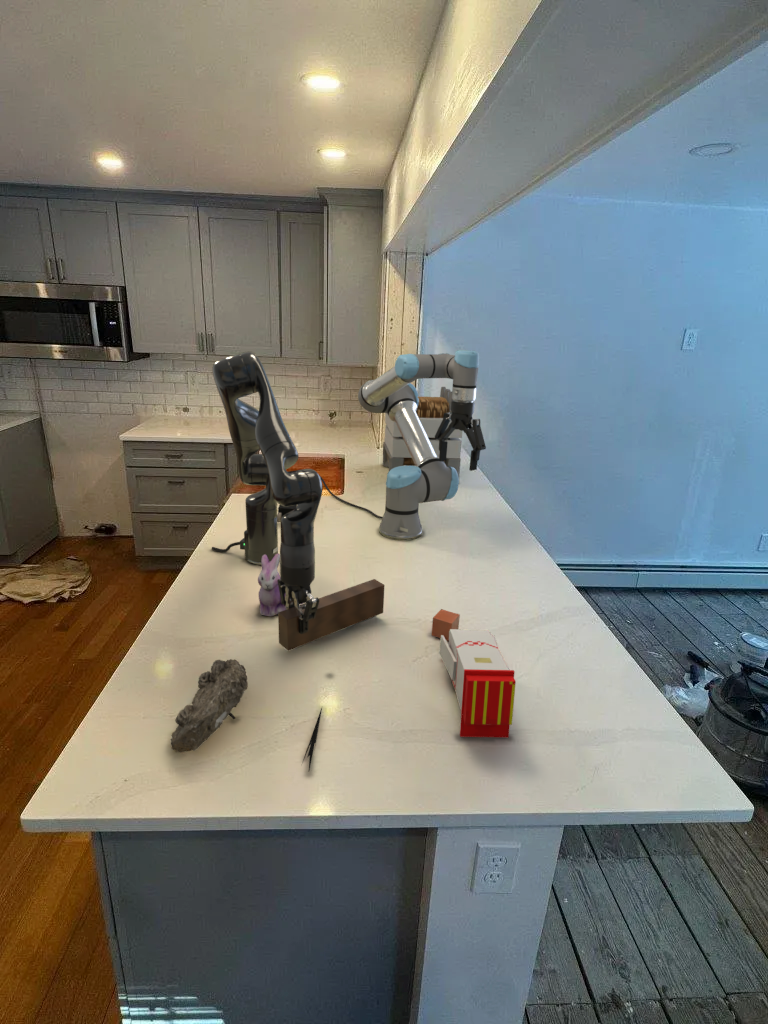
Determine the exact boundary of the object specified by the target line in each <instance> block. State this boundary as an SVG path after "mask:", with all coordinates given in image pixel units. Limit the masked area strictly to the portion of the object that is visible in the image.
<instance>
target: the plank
mask: <svg viewBox="0 0 768 1024" xmlns="http://www.w3.org/2000/svg"><path fill="white" fill-rule="evenodd" d="M318 598H319V605H318V608H317V612H316V616H315V618H313V619H310V620H309V625H308V626H309V630H308V632H306V633H304V634H300V633H299V620H298V619H299V617H298V611H297V610H296V609H295V607H292V608H290V609H287V610H284V611H281V612H278V614H277V616H278V617H277V621H278V644H279V645H280V646H282V647H283V648H284V649H285V650H286V651H288V652H289V651H292V650H295V649H296V648H299V647H302V646H304V645H307V644H309V643H312V642H315V641H317V640H319V639H322V638H324V637H326V636H329V635H332V634H334V633H336V632H339V631H342V630H344V629H347V628H349V627H352V626H354V625H356V624H359V623H362V622H364V621H366V620H369V619H372V618H374V617H376V616H379V615H381V614H383V613H384V605H385V604H384V602H385V584H383V582H381V581H379V580H377V579H375V578H373V579H370V580H368V581H364V582H362V583H359V584H356V585H353V586H350V587H347V588H345V589H341V590H339V591H336V592H333V593H330V594H327V595H324V596H322V597H318ZM305 603H306V602H305ZM305 603H303V604H305ZM303 604H300V605H303ZM304 611H305V609H303V610H302V613H303V614H304Z"/></svg>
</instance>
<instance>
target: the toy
mask: <svg viewBox="0 0 768 1024" xmlns="http://www.w3.org/2000/svg"><path fill="white" fill-rule="evenodd" d="M438 654H439V656H440V658H441V660H442V662H443V665H444V666H445V668H446V671H447V673H448V675H449V677H450V681H451V683H452V685H453V689H454V690H455V695H456V698H457V702H458V705H459V708H460V726H459V737H460V738H509V737H510V728H511V727H510V726H512V725H513V717H514V706H515V705H514V704H515V693H516V684H517V683H516V679H515V670H514V669H510V667H509V666H508V663H507V662H506V660H505V658H504V655H503V654H502V652H501V650H500V648H499V644H498V642H497V638H496V635H495V634H492V632H491V631H490V629H467V628H466V629H465V628H463V629H461V628H460V629H459V628H458V629H450V631H449V641H447V640H446V639H445V637H444V635H441V638H440V641H439V651H438Z"/></svg>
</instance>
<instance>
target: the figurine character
mask: <svg viewBox="0 0 768 1024" xmlns="http://www.w3.org/2000/svg"><path fill="white" fill-rule="evenodd" d="M296 506H297V505H292V506H282V505H280V504H278V506H277V523H281V518H282V517H283V516H284V515H285V514H287V513H288V512H290V511H292V510H294V509H295V508H296Z"/></svg>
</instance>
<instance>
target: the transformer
mask: <svg viewBox="0 0 768 1024" xmlns="http://www.w3.org/2000/svg"><path fill="white" fill-rule="evenodd" d="M418 398H419V403H418V407H417V411H416V414H417V416H418V418H419V420H420V422H421V424H422V426H423V428H424V430H425V432H426V435H427V437H428V439H429V441H430V443H431V445H432V447H433V449H434V451H435V453H436V455H437V457H438V458H439V454H440V451H439V440H438V439H436V438H435V435H436V433H437V431H438V428H439V426H440V424H441V422H442V420H443V416H444V413H449V412H450V413H451V414H452V412H451V402H452V401H453V399H452V390H451V389H450V388H446V386H441V387H440V394H439V396H418ZM384 414H385V416H384V424H385V425H384V426H385V427H384V440H383V441H382V442H383V443H382V463H381V464H382V465H383V467H386V468H388V472H389V471H390V470H391V469H393V468H395V467H399V466H405V465H407V466H410V465H411V466H415V464H414V462H413V459H412V457H411V455H410V453H409V451H408V448H407V446H406V444H405V442H404V440H403V437H402V435H401V433H400V431H399V429H398V426H397V424H396V422H393V421H391V420H390V418H389V416H388V414H387V413H384ZM451 422H452V421H451V420H450V422H449V424H450V423H451ZM449 424H448V426H449ZM448 426H447V428H448ZM447 428H446V429H447ZM463 433H464V431H461V430H459V429H455V430H454V431H453V432H452V433H451V435H450V436H449V437H448V438H447V442H448V443H447V455H446V460H445V461H444V462H445V464H446V466H447V467H449V466H450V467H453V468H455V470H456V471H457V474H458V478H459V479H460V475H461V473H460V472H461V471H460V470H461V462H462V458H461V452H462V443H463V442H462V438H463Z"/></svg>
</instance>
